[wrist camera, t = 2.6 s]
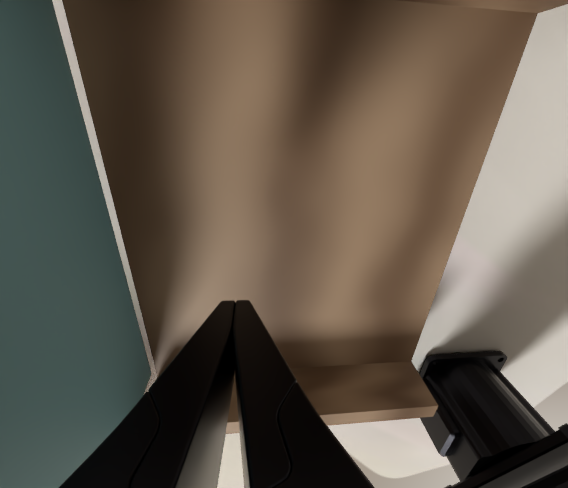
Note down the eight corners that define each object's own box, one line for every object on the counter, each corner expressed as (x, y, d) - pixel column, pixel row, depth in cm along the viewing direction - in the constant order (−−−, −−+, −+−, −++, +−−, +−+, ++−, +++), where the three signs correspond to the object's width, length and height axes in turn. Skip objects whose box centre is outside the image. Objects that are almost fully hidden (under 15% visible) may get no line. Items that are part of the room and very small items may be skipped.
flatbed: (503, -4, 11) (669, -74, 7) (393, 347, 20) (433, 416, 16) (81, -46, 9) (-71, -177, 5) (169, 360, 18) (142, 440, 14)
